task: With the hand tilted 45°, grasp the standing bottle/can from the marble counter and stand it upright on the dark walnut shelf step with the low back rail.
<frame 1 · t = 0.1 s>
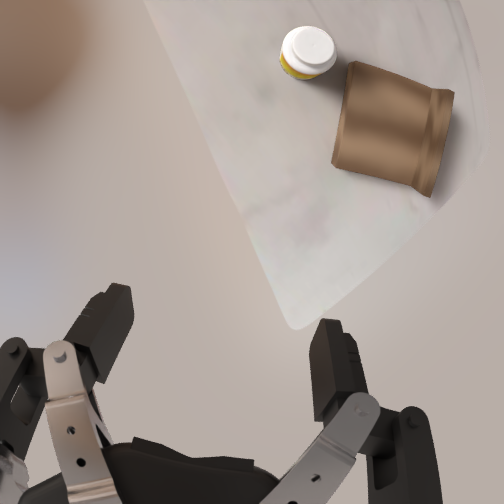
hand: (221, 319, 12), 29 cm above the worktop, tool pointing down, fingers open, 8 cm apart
supplement bottle: (301, 60, 30), on the worktop
walnut shelf step: (382, 123, 33), on the worktop
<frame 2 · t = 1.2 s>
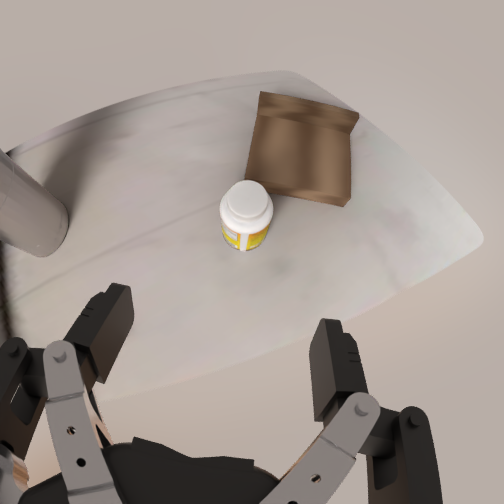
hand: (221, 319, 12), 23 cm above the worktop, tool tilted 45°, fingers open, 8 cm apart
supplement bottle: (243, 231, 37), on the worktop
walnut shelf step: (298, 161, 40), on the worktop
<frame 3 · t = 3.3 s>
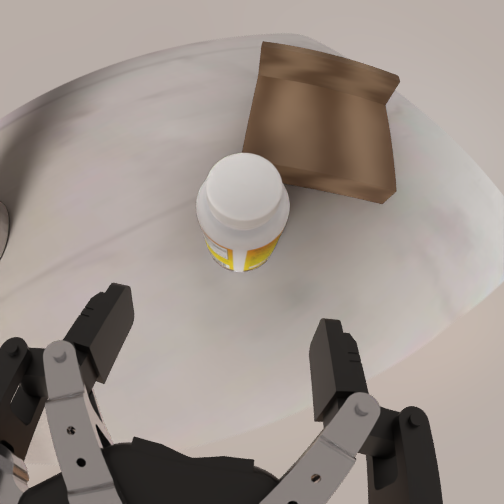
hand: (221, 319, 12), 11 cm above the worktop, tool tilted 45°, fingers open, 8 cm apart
supplement bottle: (240, 241, 25), on the worktop
walnut shelf step: (317, 138, 27), on the worktop
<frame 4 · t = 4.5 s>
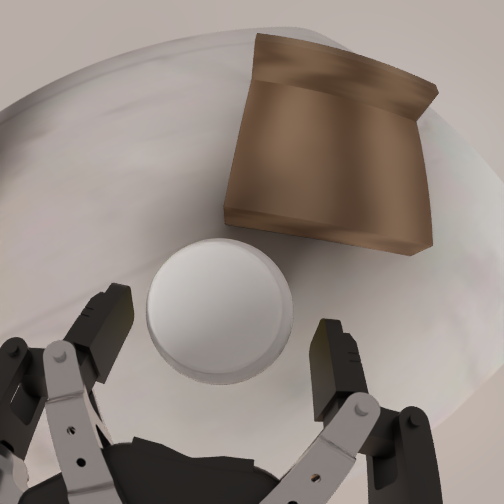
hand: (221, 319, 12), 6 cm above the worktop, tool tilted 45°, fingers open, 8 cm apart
supplement bottle: (225, 316, 18), on the worktop
walnut shelf step: (330, 166, 21), on the worktop
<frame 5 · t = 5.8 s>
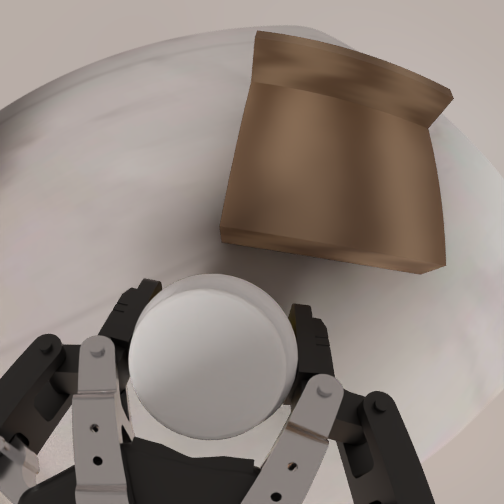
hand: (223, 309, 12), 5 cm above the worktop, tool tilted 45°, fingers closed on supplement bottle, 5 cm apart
supplement bottle: (222, 343, 16), on the worktop, touching gripper
walnut shelf step: (336, 177, 19), on the worktop
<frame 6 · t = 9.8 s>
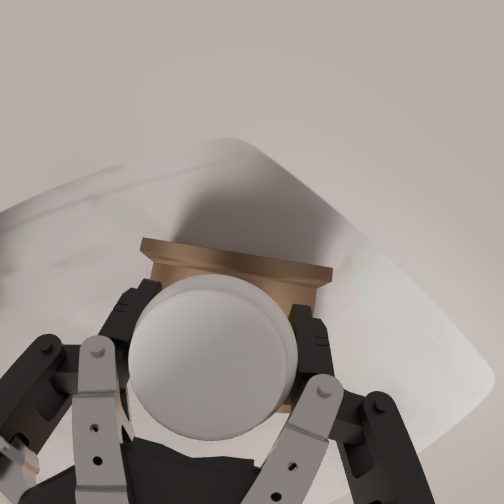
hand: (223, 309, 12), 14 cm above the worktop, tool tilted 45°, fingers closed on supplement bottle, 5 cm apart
supplement bottle: (222, 343, 16), point 9 cm above the worktop, touching gripper
walnut shelf step: (225, 334, 26), on the worktop
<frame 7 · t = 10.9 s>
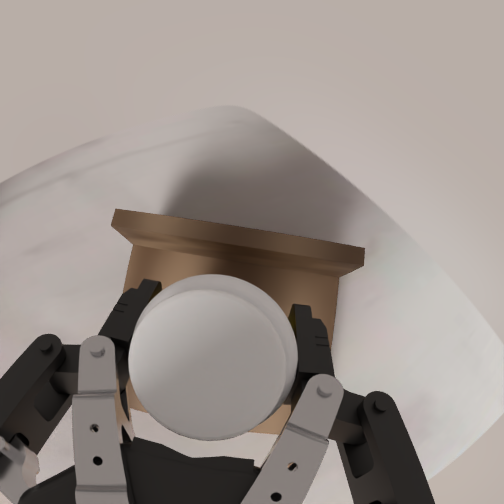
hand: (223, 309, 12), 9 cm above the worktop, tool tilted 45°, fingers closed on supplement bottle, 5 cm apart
supplement bottle: (222, 343, 16), point 4 cm above the worktop, touching gripper
walnut shelf step: (224, 336, 20), on the worktop
when the fingers open (9 cm above the worktop, at t = 11.5 s): supplement bottle stays where it is, resting on walnut shelf step.
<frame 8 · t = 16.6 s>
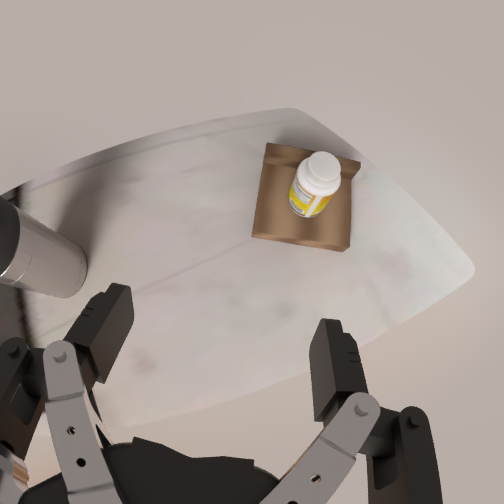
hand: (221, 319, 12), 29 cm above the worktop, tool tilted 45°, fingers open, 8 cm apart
supplement bottle: (305, 201, 41), point 3 cm above the worktop, touching walnut shelf step
walnut shelf step: (302, 207, 44), on the worktop
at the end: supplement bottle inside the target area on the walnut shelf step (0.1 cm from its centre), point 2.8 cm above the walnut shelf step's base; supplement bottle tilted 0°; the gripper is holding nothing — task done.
